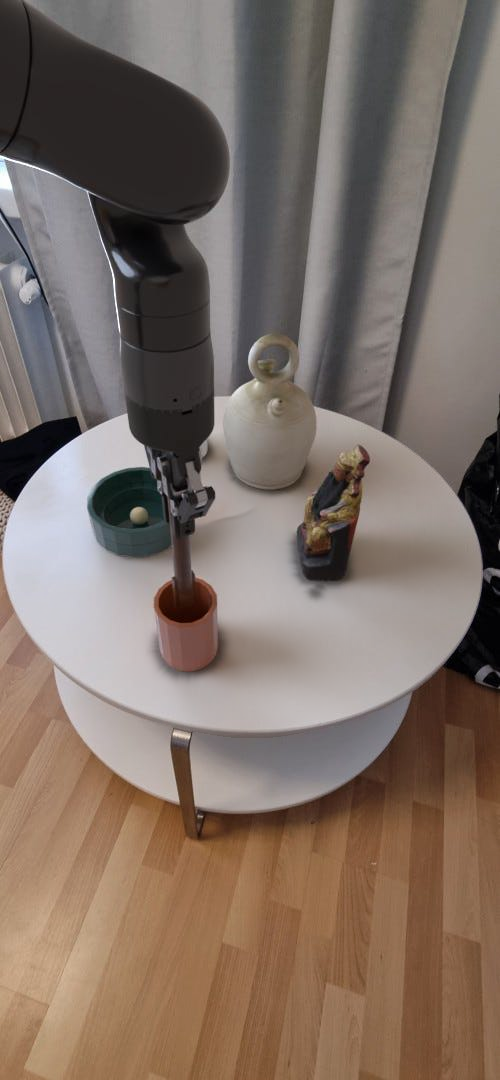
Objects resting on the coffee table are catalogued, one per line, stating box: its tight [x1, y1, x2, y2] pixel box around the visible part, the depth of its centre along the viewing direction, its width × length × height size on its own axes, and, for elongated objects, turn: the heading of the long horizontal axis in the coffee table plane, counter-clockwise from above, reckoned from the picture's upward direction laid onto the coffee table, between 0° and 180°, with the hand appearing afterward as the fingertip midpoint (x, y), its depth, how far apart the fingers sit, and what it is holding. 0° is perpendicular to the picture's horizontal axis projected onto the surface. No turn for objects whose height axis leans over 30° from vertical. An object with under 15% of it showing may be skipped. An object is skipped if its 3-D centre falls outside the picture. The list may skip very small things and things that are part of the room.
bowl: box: [86, 466, 172, 558], centre depth 91 cm, size 15×15×6 cm
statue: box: [296, 444, 371, 593], centre depth 82 cm, size 12×8×20 cm, turn 178°
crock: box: [153, 577, 219, 672], centre depth 74 cm, size 8×8×10 cm
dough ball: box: [130, 507, 148, 525], centre depth 91 cm, size 3×3×3 cm
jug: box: [222, 332, 317, 491], centre depth 95 cm, size 15×16×25 cm
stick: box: [167, 497, 196, 609], centre depth 64 cm, size 3×2×18 cm
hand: (179, 526), depth 61 cm, fingers closed on stick, 2 cm apart
